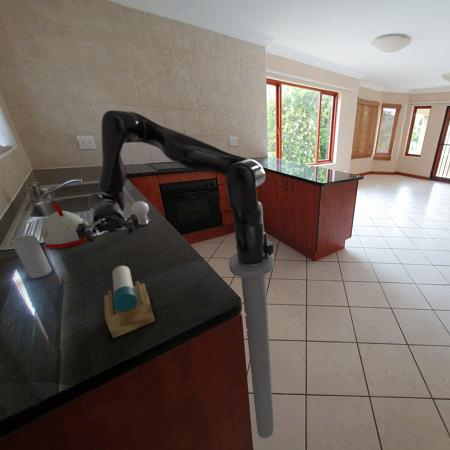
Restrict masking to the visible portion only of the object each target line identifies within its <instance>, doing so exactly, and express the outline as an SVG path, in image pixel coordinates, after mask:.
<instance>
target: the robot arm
mask: <svg viewBox="0 0 450 450" xmlns="http://www.w3.org/2000/svg"><path fill="white" fill-rule="evenodd" d="M100 126H101V127H100V128H101V158H102V163H101V169H100V170H101V171H100V176H99V179H98V189H99V190H100V191H101V192H93V193H91V195H90V196H89V197H88V201H87V204H88V208H89V210H90V211H91V212H92V213H93V215H92V216H93V217H92V218H93V219H92V222H91V223H90V224H89V225H85V224H84V223H80V224H78V226H77V229H76V232H77V235H78V237H79V239H83V238H86V242H90V243H92V242H94V241H95V237H96V236H100V235H102V234H105V233H114V232H117V231H126V230H127V232H128V234H129V235H132V234H133V232H135V229H134V228H141V223H140V219H139V218H138V216H137V215H135V214H134V213H132V214H131V215H130V216H129V217H125V215H124V213H123V212H124V211H125V208H126V202H125V197H124V189H125V186H126V181H127V177H128V171H127V167H126V166H125V164H124V161H123V159H122V156H121V155H122V154H121V152H122V149H123V146H124V144H129V143H130V144H131V143H141V144H142V143H143V144H146V145H150V146H152V147H155V148H158V149H159V150H160V151H161V152H162V154H163V155H165V156H166V158H167V159H168V160H170V161H172V162H174V163H176V164H178V165H180V166H183V167H186V168H188V169H192V170H195V171H201V172H207V173H214V174H220V175H222V176H225V186H226V193H227V198H228V203H229V207H230V208H231V210H232V216H233V225H234V236H235V243H236V244H235V245H236V246H235V249H236V253H237V254H238V263H239V264H240V265H242V266H246V267H253V266H258V265H260V264H262V263H263V262H264V261H265V260H266V259H268V255H270V256H271V254H273V253H274V243H272V242H271V241H269V240H268V235H267V233H266V232H265V225H264V210H263V209H264V207H263V204H262V203H261V201H258V197H257V189H259V188H260V187H262V185H263V184H264V182H265V181H266V172H265V169H264V167H263V166H262V165H261V164H260V163H259V162H258V161H256V160H254V159H251V158H248V157H244V156H240V155H237V154H235V153H234V154H233V153H230V152H227V151H224V150H223V149H220V148H218V147H217V146H214V145H211V144H209V143H207V142H205V141H203V140H200V139H199V138H195V137H193V136H191V135H188V134H185V133H183V132H180V131H177V130H175V129H172V128H170V127H166V126H163V125H161V124H158V123H157V122H155V121H153V120H151V119H149V118H148V117H146V116H144V115H142V114H141V113H137V112H134V111H127V110H115V109H114V110H113V109H112V110H107V111H106V112H105V113H104V114H103V116H102V117H101V125H100ZM91 230H92V231H91Z"/></svg>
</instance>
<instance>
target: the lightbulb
mask: <svg viewBox="0 0 450 450" xmlns="http://www.w3.org/2000/svg"><path fill="white" fill-rule="evenodd" d="M149 211H150V207H149V205H148V204H147V202H145V201H143V200H137V201H135V202H134V203H132V205H131V212H132V214H135V215H136V216H137V218H138V220H139V223H140V226H146V225H148V224H149V222H148V213H149Z"/></svg>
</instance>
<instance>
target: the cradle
mask: <svg viewBox="0 0 450 450" xmlns="http://www.w3.org/2000/svg"><path fill="white" fill-rule="evenodd" d="M133 289H134V290H135V293H136V298H137V303H136V305H135V306H134V307H133V308H131V309H129V310H127V311H119V310H116V309H115V308H114V305H113V294H114V292H113V290H112V289H109V290H108V294H106V295H103V298H104V299H103V300H104V320H105V323H106V325H107V327H108V331H109V332H110V335H111V337H112V339H115V338H117V337H120V336H123V335H125V334H127V333H130V332H132V331H135V330H137V329H139V328H142V327H144V326H147V325H150V324H152V323H153V322H156V318H155V315H154V311H153V308H152V304H151V301H150V297H149V294H148V291H147V288H146V284H145V283H143V282H142V283H140V282H139V281H138V280H137V281H135V285H133Z"/></svg>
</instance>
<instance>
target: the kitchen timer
mask: <svg viewBox="0 0 450 450" xmlns="http://www.w3.org/2000/svg"><path fill="white" fill-rule="evenodd" d="M53 210H54V212H52V213H51V214H50V215H49V216H48V217H47V218H46V219H45V221H44V224H43V226H40V233H41V238H42V241H43V243H44V246H45V247H46V248H47V249H64V248H69V247H74V246H77V245H81V244H83V243H86V242H87V241H86V238H83V239H79V237H78V235H77V232H76V229H77V226H78V224H80V223H84V224H85V225H90V224H89V222H88V221H87V219H84V218H82V217H80V216H79V215H77V214H75V213H73V212H71V211H66V210H62V208H61V207H60V204H58V203H57V202H53ZM91 231H92V230H91Z"/></svg>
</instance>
